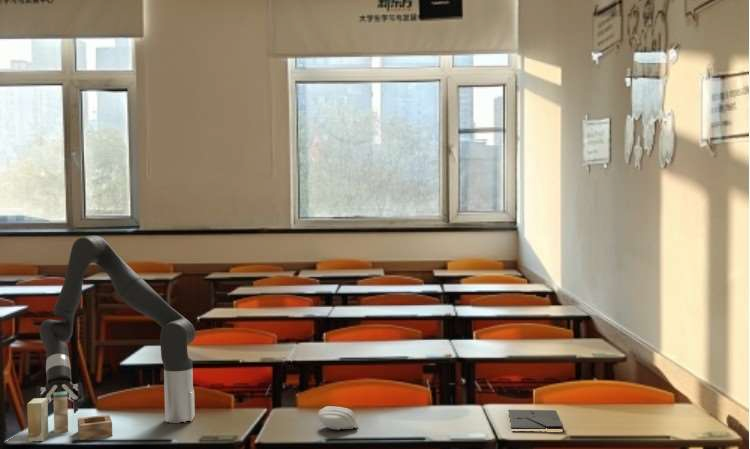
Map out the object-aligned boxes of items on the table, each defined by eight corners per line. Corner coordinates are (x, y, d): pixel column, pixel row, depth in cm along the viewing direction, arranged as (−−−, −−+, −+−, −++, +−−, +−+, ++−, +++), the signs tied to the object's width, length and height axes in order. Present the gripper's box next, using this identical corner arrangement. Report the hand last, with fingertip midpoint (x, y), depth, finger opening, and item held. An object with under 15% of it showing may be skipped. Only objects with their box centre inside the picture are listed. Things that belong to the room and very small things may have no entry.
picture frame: (563, 435, 246) (556, 416, 266) (563, 425, 246) (555, 408, 266) (511, 434, 248) (508, 415, 268) (511, 424, 247) (508, 407, 268)
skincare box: (34, 436, 250) (33, 397, 249) (49, 436, 250) (47, 397, 250) (27, 443, 243) (26, 403, 243) (42, 442, 244) (41, 402, 243)
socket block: (109, 428, 258) (108, 414, 258) (112, 435, 249) (112, 421, 249) (78, 431, 254) (77, 418, 254) (80, 440, 245) (79, 425, 245)
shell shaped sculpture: (309, 429, 253) (308, 409, 253) (337, 420, 263) (337, 401, 262) (338, 437, 245) (337, 416, 244) (366, 428, 254) (366, 408, 254)
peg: (67, 428, 259) (66, 391, 258) (68, 431, 255) (67, 393, 254) (54, 429, 257) (53, 392, 256) (54, 433, 253) (53, 395, 253)
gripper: (35, 366, 259) (36, 409, 249) (81, 362, 265) (84, 404, 255) (35, 379, 264) (36, 422, 254) (81, 375, 270) (84, 417, 260)
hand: (60, 413), depth 255 cm, fingers open, 8 cm apart
